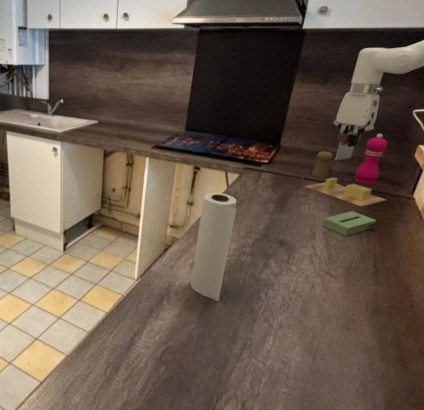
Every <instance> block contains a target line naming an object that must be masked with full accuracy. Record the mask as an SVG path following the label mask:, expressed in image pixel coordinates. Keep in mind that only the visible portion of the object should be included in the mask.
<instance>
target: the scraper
mask: <svg viewBox="0 0 424 410" xmlns="http://www.w3.org/2000/svg"><path fill="white" fill-rule="evenodd" d="M351 135H353V131H350V132H349V131H348V133H338V134H337V137H336V142H340V144H339V143H338V148H337V151H336V154H335V158H334V161H341V160H347V159H351V158H352V155H353V151H354V148H355V146H353V147H348V142H349V139H350V136H351ZM362 135H363V133H362V134H361V135H359V138H358V141H360V140H361V138H362Z"/></svg>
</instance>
